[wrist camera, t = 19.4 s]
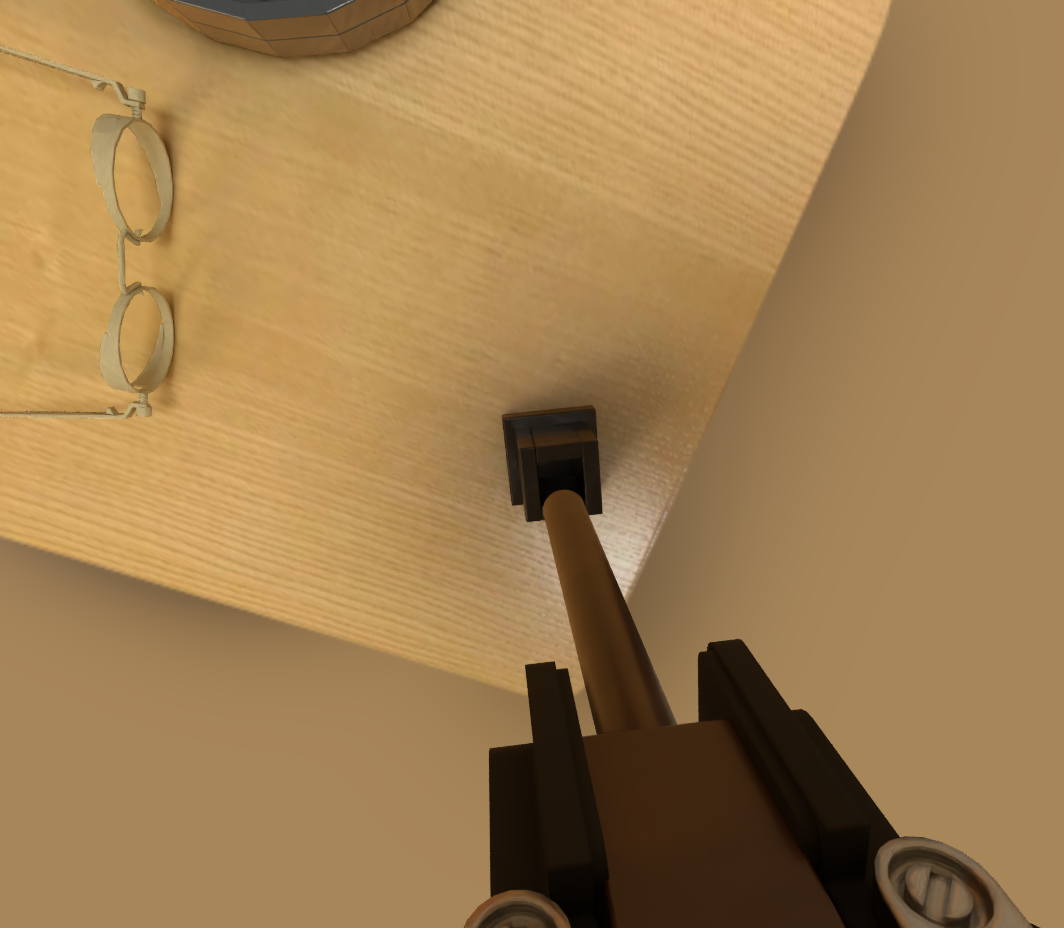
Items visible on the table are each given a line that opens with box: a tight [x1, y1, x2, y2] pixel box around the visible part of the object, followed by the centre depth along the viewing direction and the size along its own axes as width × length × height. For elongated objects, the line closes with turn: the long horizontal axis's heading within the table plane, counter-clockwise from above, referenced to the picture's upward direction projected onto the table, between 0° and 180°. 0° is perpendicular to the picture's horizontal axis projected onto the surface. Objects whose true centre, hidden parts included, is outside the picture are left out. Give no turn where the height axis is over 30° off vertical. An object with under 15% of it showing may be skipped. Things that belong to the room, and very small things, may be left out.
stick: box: [543, 490, 846, 928], centre depth 14 cm, size 2×2×16 cm
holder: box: [502, 405, 603, 522], centre depth 33 cm, size 5×5×5 cm
